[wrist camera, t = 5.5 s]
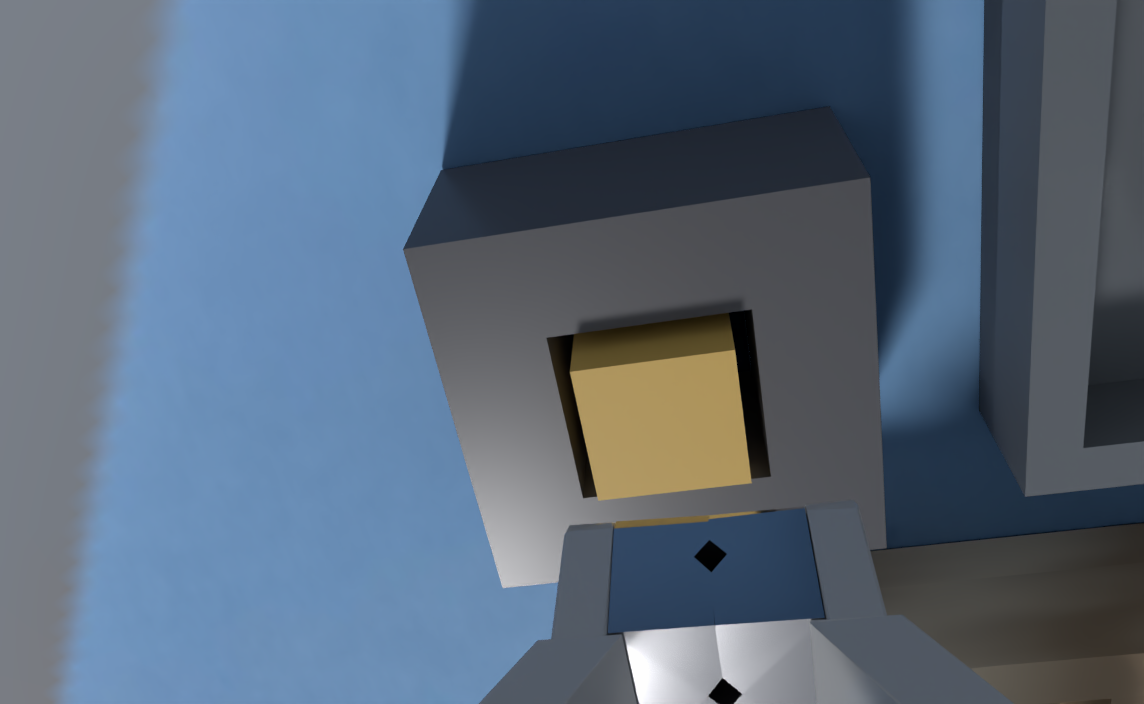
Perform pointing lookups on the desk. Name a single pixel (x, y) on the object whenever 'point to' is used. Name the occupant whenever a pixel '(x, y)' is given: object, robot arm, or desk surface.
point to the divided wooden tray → (1032, 610)
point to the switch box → (656, 316)
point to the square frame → (1063, 241)
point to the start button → (661, 407)
